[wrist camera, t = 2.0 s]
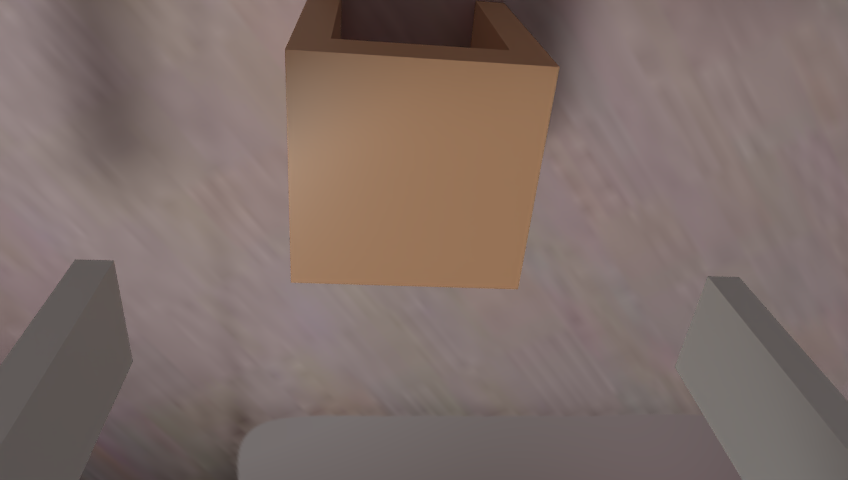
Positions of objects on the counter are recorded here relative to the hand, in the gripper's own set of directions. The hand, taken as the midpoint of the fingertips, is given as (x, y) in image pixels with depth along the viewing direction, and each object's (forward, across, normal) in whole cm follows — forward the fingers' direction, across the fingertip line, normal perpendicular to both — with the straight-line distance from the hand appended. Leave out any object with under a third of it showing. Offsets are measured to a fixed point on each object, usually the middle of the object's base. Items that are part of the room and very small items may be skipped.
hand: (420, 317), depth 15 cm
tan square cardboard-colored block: (+17, 0, 0) cm, 17 cm away
